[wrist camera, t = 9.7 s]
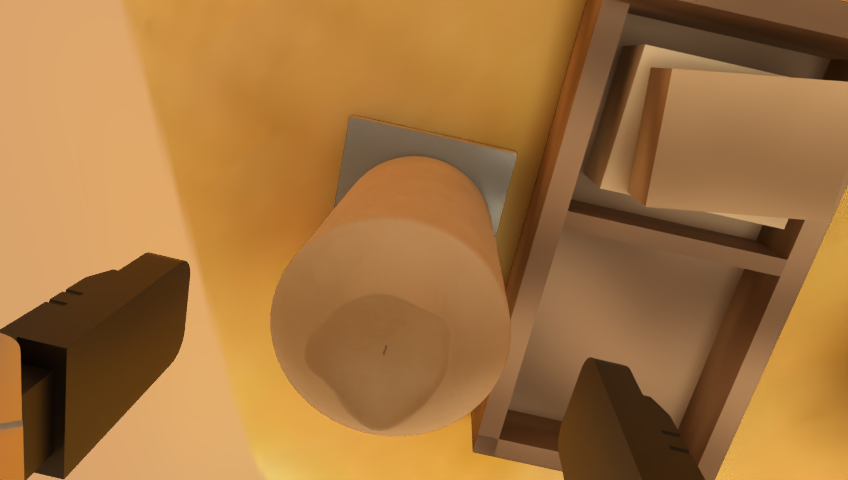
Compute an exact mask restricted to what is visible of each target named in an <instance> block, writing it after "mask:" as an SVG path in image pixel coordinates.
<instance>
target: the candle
mask: <svg viewBox="0 0 848 480" xmlns="http://www.w3.org/2000/svg"><path fill="white" fill-rule="evenodd" d="M271 335H272V342H273V346H274V349H275V353H276V356H277V358H278V361H279V363H280V365H281V368H282V370H283V371H284V373H285V375H286V377H287V378H288V380H289V382H290V383H291V384H292V385H293V387H294V388H295V389H296V391H297V392H298V393H299V394H300V395H301V396H302V397H303V398H304V399H305V400H306V401H307V402H308V403H309V404H310V405H311V406H313V407H314V408H315V409H317V410H318V411H319V412H320V413H322V414H324V415H325V416H327V417H328V418H330V419H332V420H333V421H335V422H338V423H340V424H342V425H344V426H346V427H349V428H352V429H355V430H358V431H361V432H365V433H370V434H374V435H383V436H410V435H418V434H423V433H427V432H431V431H435V430H437V429H440V428H443V427H446V426H448V425H450V424H452V423H454V422H456V421H458V420H460V419H461V418H463V417H464V416H466V415H467V414H468V413H470V412H471V411H473V410H474V409H475V408H476V407H477V406H478V405H479V404H480V403H482V402H483V400H484V399H485V398H486V397H487V396H488V395H489V393H490V392H491V391H492V389H493V388H494V386H495V385H496V383H497V382H498V380H499V378H500V376H501V374H502V372H503V370H504V367H505V365H506V361H507V358H508V354H509V349H510V342H511V321H510V314H509V308H508V302H507V297H506V292H505V287H504V282H503V276H502V271H501V266H500V261H499V256H498V251H497V246H496V241H495V236H494V231H493V225H492V220H491V217H490V213H489V210H488V207H487V204H486V202H485V200H484V197H483V196H482V194H481V192H480V191H479V189H478V188H477V186H476V185H475V184H474V183H473V182H472V180H471V179H469V178H468V177H467V176H466V175H465V174H464V173H463V172H461V171H460V170H458V169H457V168H456V167H454V166H452V165H450V164H448V163H446V162H443V161H441V160H438V159H434V158H430V157H423V156H405V157H399V158H395V159H391V160H388V161H386V162H383V163H381V164H379V165H377V166H375V167H374V168H372V169H371V170H369V171H368V172H367V173H366V174H364V175H363V176H362V177H361V178H360V179H359V180H358V181H357V182H356V183H355V184H354V186H353V187H352V188H351V189H350V190H349V191H348V193H347V194H346V195H345V196H344V197H343V199H342V200H341V201H340V202H339V203H338V205H337V206H336V207H335V208H334V209H333V211H332V212H331V213H330V214H329V215H328V217H327V218H326V219H325V220H324V221H323V223H322V224H321V225H320V226H319V227H318V229H317V230H316V231H315V232H314V234H313V235H312V236H311V237H310V238H309V240H308V241H307V242H306V243H305V244H304V246H303V247H302V248H301V249H300V250H299V252H298V253H297V254H296V255H295V256H294V258H293V259H292V260H291V262H290V263H289V265H288V266H287V268H286V269H285V271H284V272H283V274H282V276H281V278H280V281H279V283H278V285H277V287H276V291H275V294H274V297H273V302H272V308H271Z"/></svg>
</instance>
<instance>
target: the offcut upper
mask: <svg viewBox="0 0 848 480" xmlns="http://www.w3.org/2000/svg"><path fill="white" fill-rule="evenodd" d="M847 164H848V82H845V81H831V80H818V79H805V78H791V77H778V76H765V75H751V74H738V73H725V72H712V71H698V70H685V69H671V68H653V67H651V69H650V75H649V80H648V85H647V91H646V96H645V102H644V107H643V113H642V118H641V124H640V129H639V135H638V140H637V146H636V151H635V157H634V162H633V168H632V173H631V179H630V184H629V189H628V193H629V194H630V195H631V196H633V197H634V198H635V199H636V200H638V201H639V202H640V203H642V204H643V205H644V206H645V207H655V208H667V209H679V210H691V211H704V212H716V213H728V214H740V215H752V216H765V217H777V218H789V219H801V220H813V221H826V222H831V218H832V215H833V212H834V208H835V205H836V201H837V198H838V195H839V191H840V188H841V185H842V181H843V178H844V174H845V171H846V168H847Z"/></svg>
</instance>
